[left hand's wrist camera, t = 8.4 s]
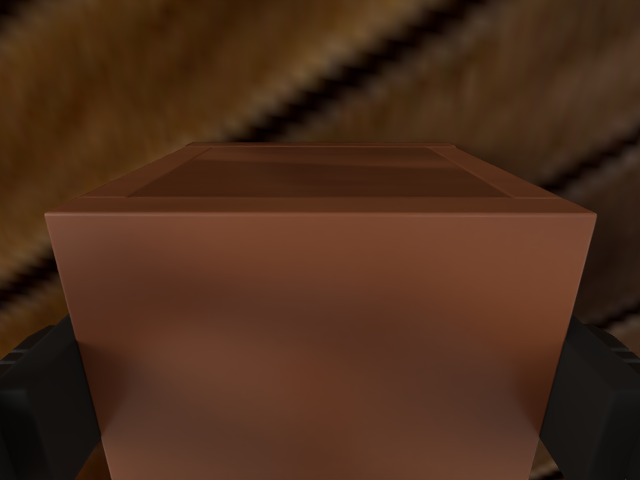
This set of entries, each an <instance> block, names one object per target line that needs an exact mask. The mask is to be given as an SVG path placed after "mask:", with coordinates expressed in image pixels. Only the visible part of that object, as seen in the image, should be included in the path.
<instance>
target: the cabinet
mask: <svg viewBox="0 0 640 480" xmlns="http://www.w3.org/2000/svg"><path fill="white" fill-rule="evenodd" d="M44 216H45V220H46V224H47V228H48V232H49V236H50V240H51V243H52V247H53V251H54V255H55V259H56V263H57V267H58V271H59V275H60V279H61V283H62V287H63V290H64V294H65V298H66V302H67V306H68V310H69V314H70V318H71V322H72V326H73V330H74V333H75V337H76V341H77V345H78V349H79V353H80V357H81V361H82V365H83V369H84V373H85V377H86V380H87V384H88V388H89V392H90V396H91V400H92V404H93V408H94V412H95V416H96V420H97V423H98V427H99V431H100V435H101V439H102V443H103V447H104V451H105V455H106V459H107V463H108V466H109V470H110V474H111V478H112V480H528V479H529V476H530V472H531V468H532V464H533V460H534V456H535V453H536V449H537V445H538V441H539V437H540V433H541V430H542V426H543V422H544V418H545V414H546V410H547V407H548V403H549V399H550V395H551V391H552V387H553V384H554V380H555V376H556V372H557V368H558V365H559V361H560V357H561V353H562V349H563V345H564V342H565V338H566V334H567V330H568V326H569V322H570V319H571V315H572V311H573V307H574V303H575V299H576V296H577V292H578V288H579V284H580V280H581V276H582V273H583V269H584V265H585V261H586V257H587V254H588V250H589V246H590V242H591V238H592V234H593V231H594V227H595V223H596V219H597V214H596V213H594V212H592V211H590V210H588V209H586V208H583V207H581V206H579V205H577V204H575V203H573V202H571V201H569V200H566V199H562V198H561V197H559V196H557V195H555V194H553V193H551V192H549V191H546V190H544V189H542V188H540V187H538V186H536V185H534V184H532V183H530V182H527V181H525V180H523V179H521V178H519V177H517V176H515V175H513V174H510V173H508V172H506V171H504V170H502V169H500V168H498V167H496V166H494V165H491V164H489V163H487V162H485V161H483V160H481V159H479V158H477V157H475V156H472V155H470V154H468V153H466V152H464V151H462V150H460V149H458V148H456V146H454V145H452V144H450V143H334V142H192V143H190V144H188V145H186V147H184V148H182V149H180V150H178V151H176V152H174V153H172V154H169V155H167V156H165V157H163V158H161V159H159V160H157V161H155V162H152V163H150V164H148V165H146V166H144V167H142V168H140V169H138V170H135V171H133V172H131V173H129V174H127V175H125V176H123V177H121V178H118V179H116V180H114V181H112V182H110V183H108V184H106V185H103V186H101V187H99V188H97V189H95V190H93V191H91V192H89V193H86V194H84V195H82V196H80V197H79V198H75V199H73V200H71V201H69V202H66V203H64V204H62V205H60V206H58V207H56V208H54V209H51V210H49V211H47V212H45V215H44Z"/></svg>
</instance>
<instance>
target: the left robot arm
mask: <svg viewBox="0 0 640 480" xmlns="http://www.w3.org/2000/svg"><path fill="white" fill-rule="evenodd" d="M100 438H101V435H100V431H99V427H98V423H97V420H96V416H95V412H94V408H93V404H92V400H91V396H90V392H89V388H88V384H87V380H86V377H85V373H84V369H83V365H82V361H81V357H80V353H79V349H78V345H77V341H76V337H75V333H74V330H73V326H72V322H71V318H70V314H68V315H67V316H66V317H65V318H64V319H62V320H61V321H60V322H59V323H58V324H57V325H49V326H47V327H45V328H44V329H42V330H40V331H38V332H36V333H34V334H33V335H31V336H29V337H27V338H26V339H25V340H24V341H23V342H22V343H20V344H19V345H18V346H17V347H16V348H15V349H13V352H12V353H9V354H8V355H6V356H5V357H4V358H3V359H2V360H1V361H0V480H74V479H75V478H76V476H77V475H78V473H79V471H80V470H81V468H82V467H83V465H84V463H85V462H86V460H87V459H88V457H89V455H90V454H91V452H92V451H93V449H94V447H95V446H96V444H97V443H98V441H99V439H100ZM540 439H541V440H542V442H543V443H544V445H545V447H546V448H547V450H548V451H549V453H550V455H551V456H552V458H553V460H554V461H555V463H556V464H557V466H558V468H559V469H560V471H561V472H562V474H563V476H564V477H565V479H566V480H625V478H626V479H627V480H640V358H639V357H637V356H636V355H635V354H634V353H633V352H629V350H628V348H627V347H626V346H625V345H623V344H622V343H621V342H620V341H619V340H617V339H616V338H615V337H614V336H613V335H611V334H609V333H607V332H605V331H603V330H602V329H600V328H598V327H596V326H594V325H592V324H582V323H581V322H580V321H579V320H578V319H577V318H576V317H575V316H574V315H571V319H570V322H569V326H568V330H567V334H566V338H565V342H564V345H563V349H562V353H561V357H560V361H559V365H558V368H557V372H556V376H555V380H554V384H553V387H552V391H551V395H550V399H549V403H548V407H547V410H546V414H545V418H544V422H543V426H542V430H541V433H540Z"/></svg>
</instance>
